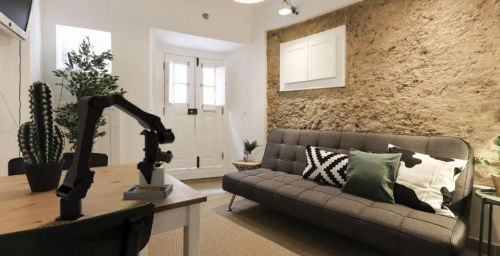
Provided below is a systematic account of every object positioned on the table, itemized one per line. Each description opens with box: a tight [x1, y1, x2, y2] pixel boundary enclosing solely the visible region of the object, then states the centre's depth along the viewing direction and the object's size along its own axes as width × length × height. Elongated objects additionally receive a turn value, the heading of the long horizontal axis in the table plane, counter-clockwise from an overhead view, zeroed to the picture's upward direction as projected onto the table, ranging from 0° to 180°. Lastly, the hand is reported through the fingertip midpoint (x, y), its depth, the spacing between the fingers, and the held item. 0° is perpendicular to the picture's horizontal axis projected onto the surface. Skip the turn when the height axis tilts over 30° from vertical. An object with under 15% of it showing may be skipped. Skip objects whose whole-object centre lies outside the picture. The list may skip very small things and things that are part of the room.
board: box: [138, 167, 166, 187], centre depth 112 cm, size 2×10×10 cm, turn 94°
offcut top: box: [133, 188, 160, 192], centre depth 107 cm, size 5×9×1 cm, turn 94°
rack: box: [123, 183, 174, 200], centre depth 109 cm, size 12×16×3 cm
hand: (152, 182), depth 112 cm, fingers open, 7 cm apart
